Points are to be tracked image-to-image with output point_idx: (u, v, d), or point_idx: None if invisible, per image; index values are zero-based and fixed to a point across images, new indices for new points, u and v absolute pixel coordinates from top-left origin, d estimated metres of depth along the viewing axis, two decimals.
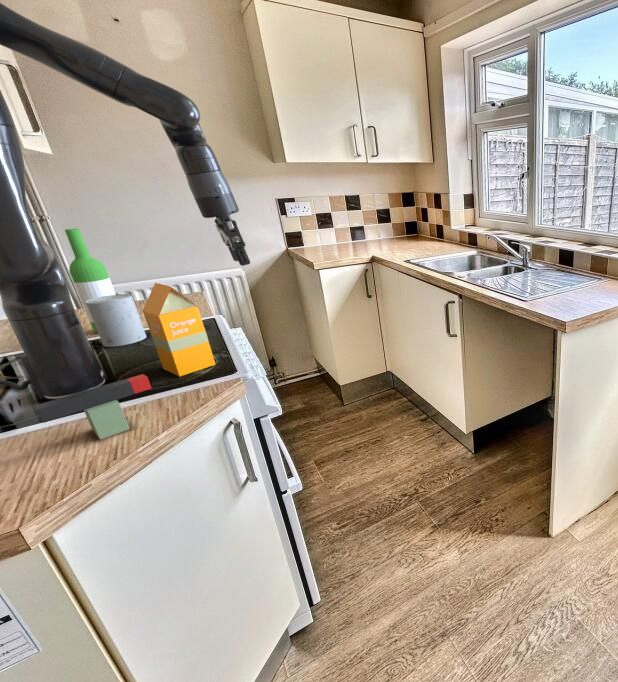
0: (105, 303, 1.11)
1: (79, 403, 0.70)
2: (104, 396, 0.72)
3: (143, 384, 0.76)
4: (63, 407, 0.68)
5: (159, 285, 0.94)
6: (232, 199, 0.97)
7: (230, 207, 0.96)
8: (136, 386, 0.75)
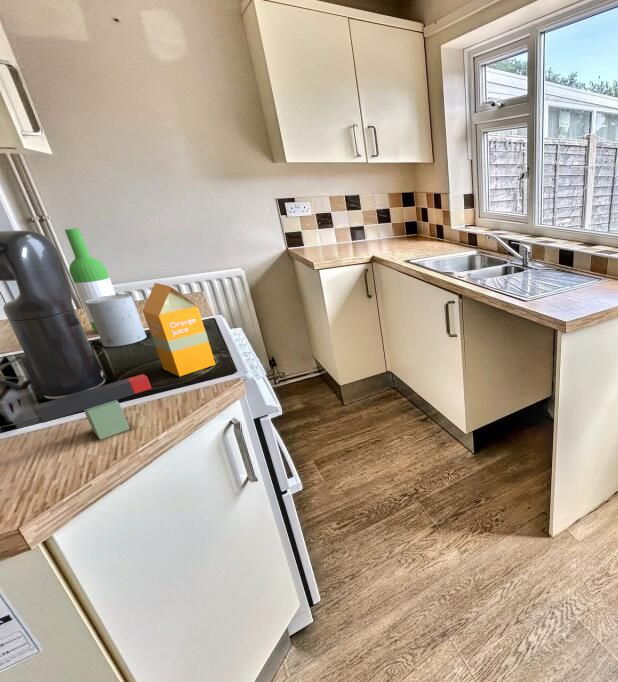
0: (105, 303, 1.11)
1: (79, 403, 0.70)
2: (104, 396, 0.72)
3: (143, 384, 0.76)
4: (63, 407, 0.68)
5: (159, 285, 0.94)
6: None
7: None
8: (136, 386, 0.75)
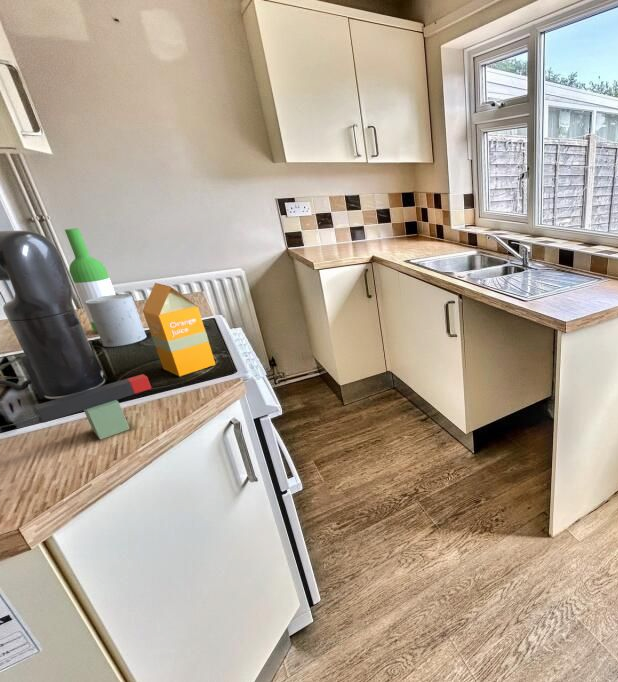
0: (105, 303, 1.11)
1: (79, 403, 0.70)
2: (104, 396, 0.72)
3: (143, 384, 0.76)
4: (63, 407, 0.68)
5: (159, 285, 0.94)
6: None
7: None
8: (136, 386, 0.75)
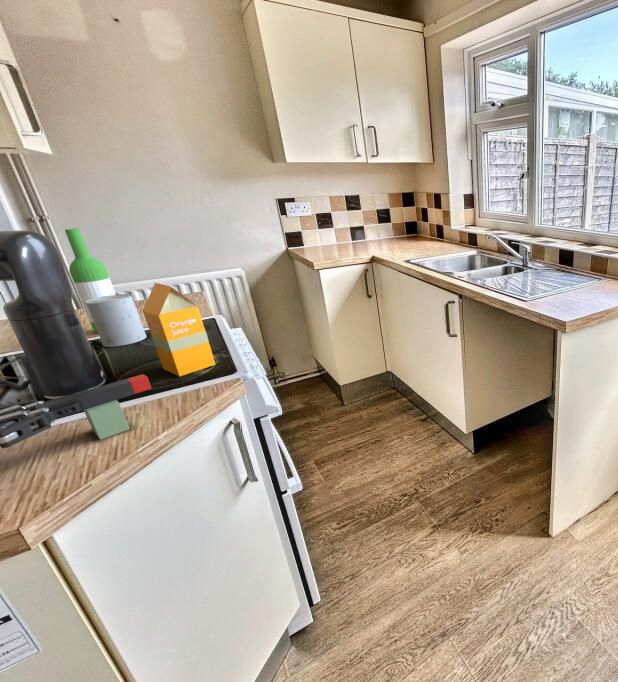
0: (105, 303, 1.11)
1: None
2: (104, 396, 0.72)
3: (143, 384, 0.76)
4: None
5: (159, 285, 0.94)
6: None
7: None
8: (136, 386, 0.75)
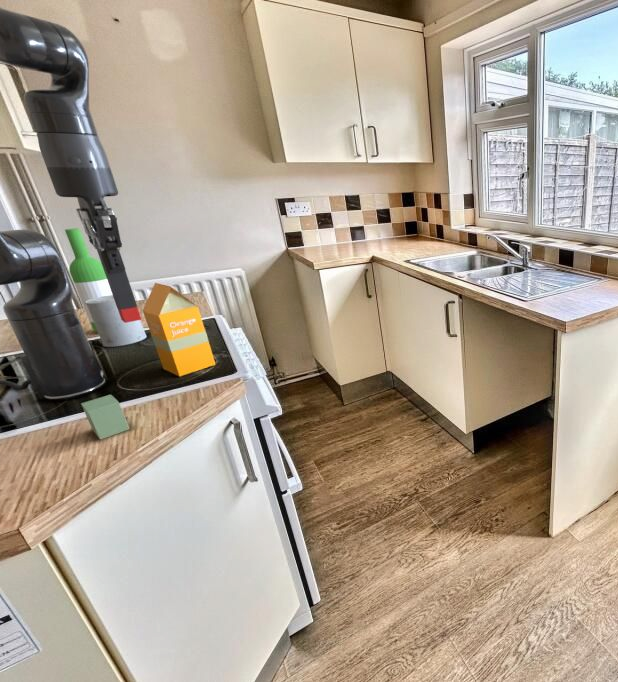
0: (105, 303, 1.11)
1: None
2: (122, 288, 0.75)
3: (132, 316, 0.77)
4: None
5: (159, 285, 0.94)
6: None
7: None
8: (130, 311, 0.77)
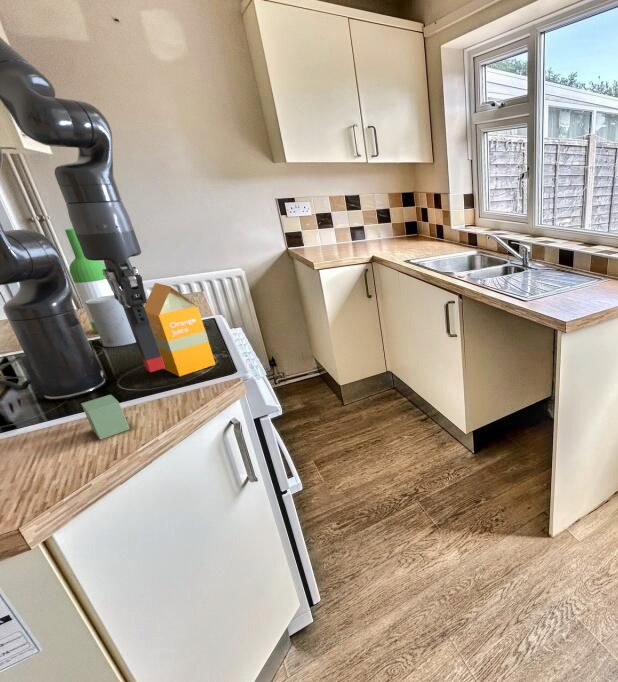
0: (105, 303, 1.11)
1: None
2: (147, 340, 0.79)
3: (156, 366, 0.81)
4: None
5: (159, 285, 0.94)
6: None
7: None
8: (155, 361, 0.81)
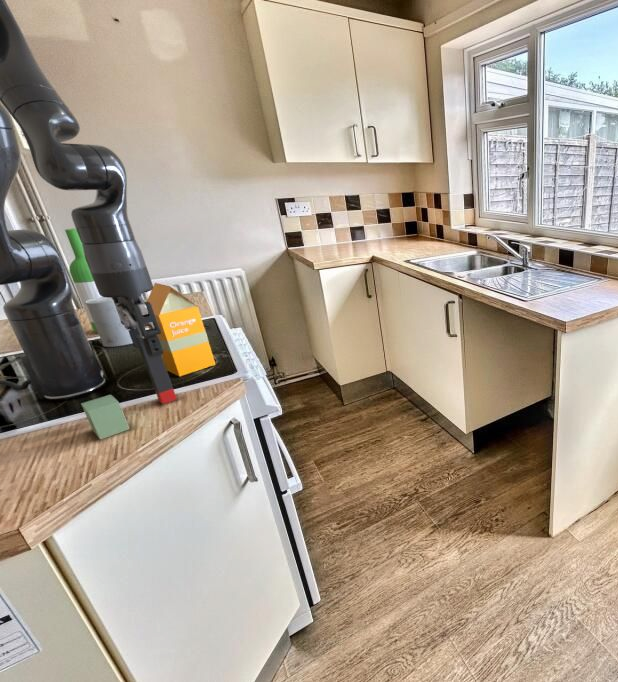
0: (105, 303, 1.11)
1: (155, 358, 0.81)
2: (160, 373, 0.82)
3: (168, 398, 0.84)
4: None
5: (159, 285, 0.94)
6: None
7: None
8: (167, 393, 0.83)
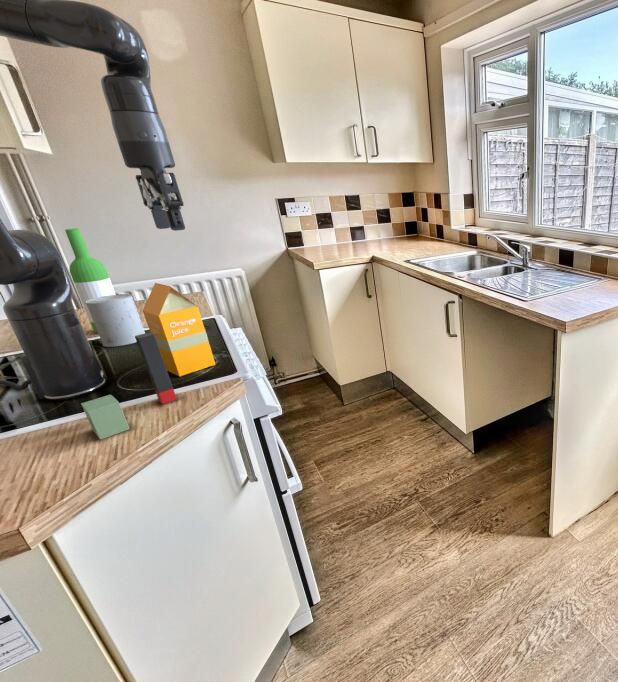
0: (105, 303, 1.11)
1: (155, 358, 0.81)
2: (160, 373, 0.82)
3: (168, 398, 0.84)
4: (153, 349, 0.80)
5: (159, 285, 0.94)
6: None
7: None
8: (167, 393, 0.83)
